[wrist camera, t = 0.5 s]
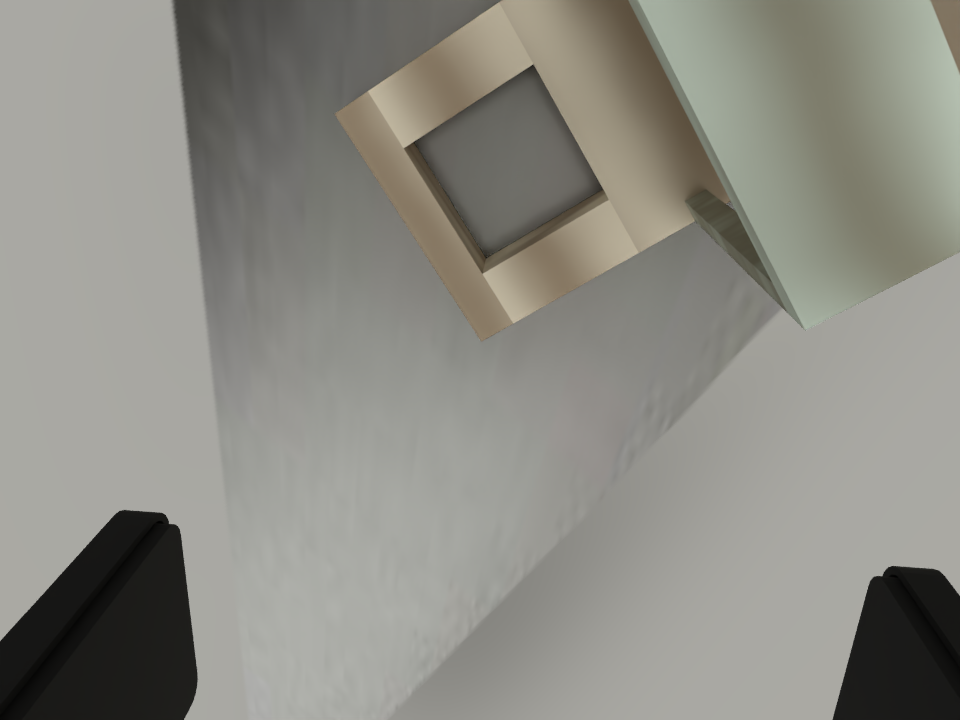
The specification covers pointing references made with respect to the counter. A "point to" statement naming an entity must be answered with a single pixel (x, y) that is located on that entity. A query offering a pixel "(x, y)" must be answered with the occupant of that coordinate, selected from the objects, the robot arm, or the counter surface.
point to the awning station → (698, 143)
